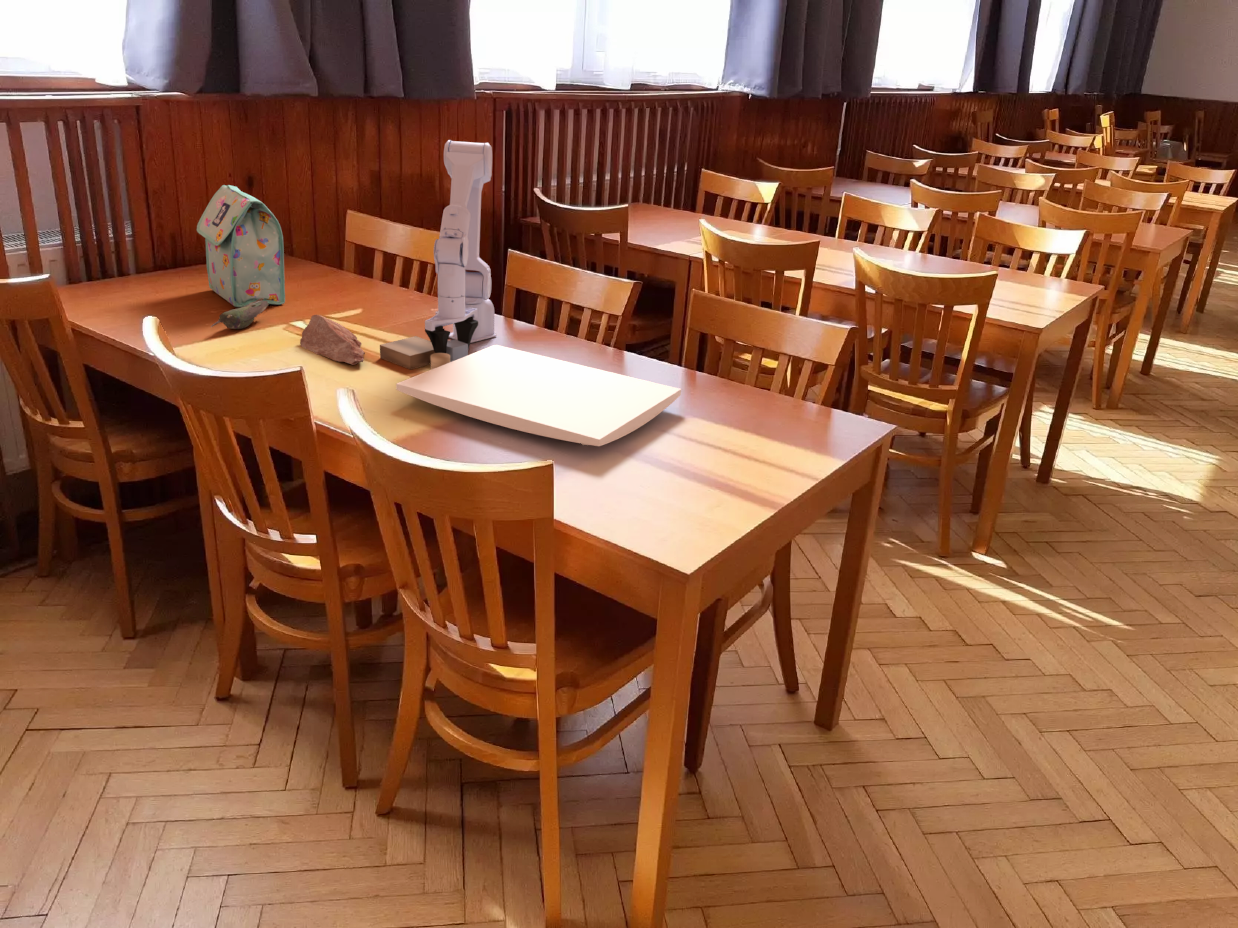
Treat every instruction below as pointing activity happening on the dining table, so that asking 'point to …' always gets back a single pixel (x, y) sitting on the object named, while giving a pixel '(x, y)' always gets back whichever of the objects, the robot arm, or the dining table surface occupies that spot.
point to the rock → (331, 340)
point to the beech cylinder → (439, 359)
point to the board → (542, 395)
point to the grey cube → (456, 349)
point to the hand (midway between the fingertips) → (452, 355)
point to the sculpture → (242, 315)
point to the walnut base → (408, 352)
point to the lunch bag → (243, 248)
